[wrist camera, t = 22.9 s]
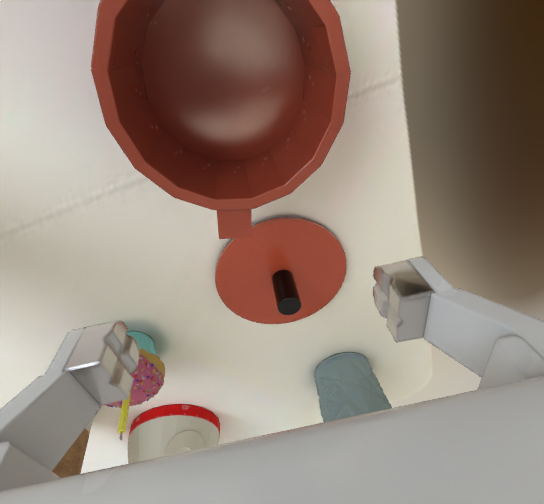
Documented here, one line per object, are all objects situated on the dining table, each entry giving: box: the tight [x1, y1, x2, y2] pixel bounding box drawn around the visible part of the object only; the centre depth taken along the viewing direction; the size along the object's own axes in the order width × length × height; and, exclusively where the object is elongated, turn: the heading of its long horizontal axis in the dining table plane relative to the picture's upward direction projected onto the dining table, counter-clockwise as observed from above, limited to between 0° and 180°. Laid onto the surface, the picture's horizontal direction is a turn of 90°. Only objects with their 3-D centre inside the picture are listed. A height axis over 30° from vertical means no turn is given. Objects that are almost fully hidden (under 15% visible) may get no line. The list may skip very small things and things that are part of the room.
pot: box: [91, 0, 350, 239], centre depth 21 cm, size 14×19×8 cm
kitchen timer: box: [128, 404, 220, 464], centre depth 45 cm, size 14×14×15 cm
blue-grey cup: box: [315, 352, 392, 422], centre depth 43 cm, size 10×10×12 cm
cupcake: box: [105, 331, 165, 440], centre depth 34 cm, size 9×8×12 cm
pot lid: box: [215, 218, 346, 324], centre depth 33 cm, size 15×15×6 cm
